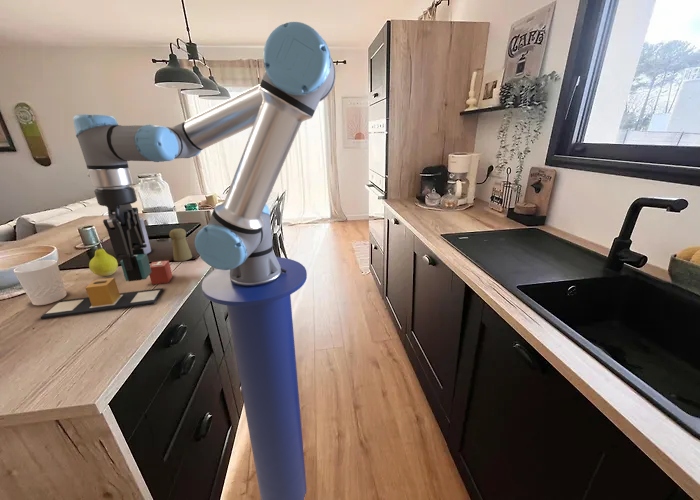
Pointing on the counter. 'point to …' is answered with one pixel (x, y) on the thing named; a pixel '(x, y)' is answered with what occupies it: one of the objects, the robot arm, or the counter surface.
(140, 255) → the teal slotted block
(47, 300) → the white cup
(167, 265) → the red block
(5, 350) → the counter surface
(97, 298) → the slotted yellow cube
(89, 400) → the counter surface
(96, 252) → the fruit
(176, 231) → the cork
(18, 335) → the counter surface
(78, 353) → the counter surface
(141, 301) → the word mat
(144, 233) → the pillar candle
